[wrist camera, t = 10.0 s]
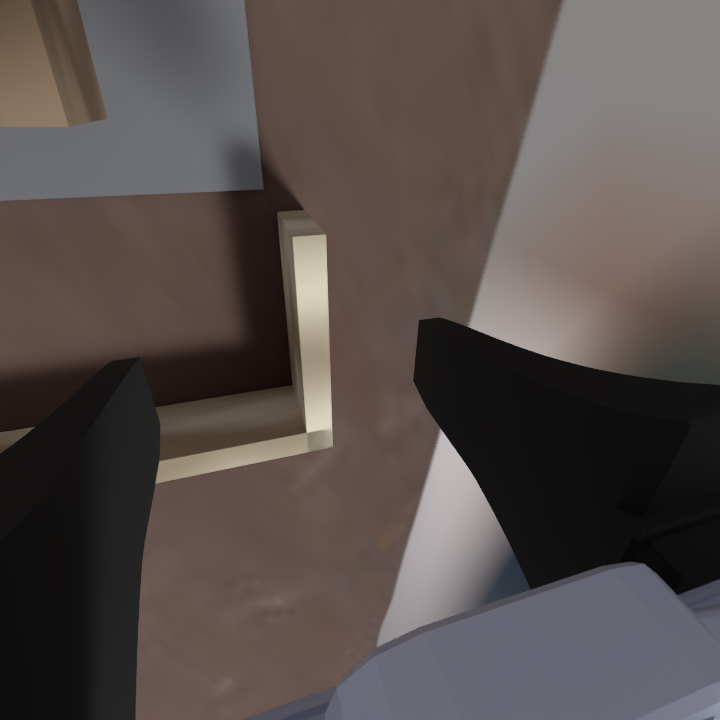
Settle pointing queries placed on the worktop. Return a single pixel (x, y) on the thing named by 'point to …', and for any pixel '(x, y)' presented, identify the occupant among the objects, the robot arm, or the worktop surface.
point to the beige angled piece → (263, 407)
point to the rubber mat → (150, 108)
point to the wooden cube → (46, 66)
